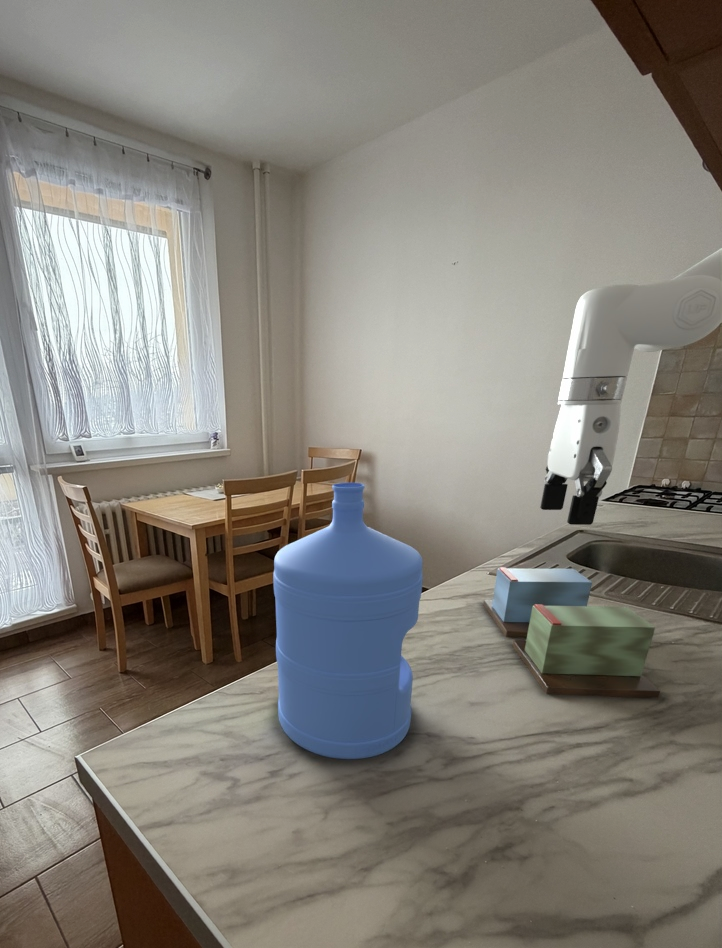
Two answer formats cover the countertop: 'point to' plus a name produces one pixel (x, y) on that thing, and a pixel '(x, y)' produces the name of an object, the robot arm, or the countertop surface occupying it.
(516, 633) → the dark brown base plate
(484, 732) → the countertop surface
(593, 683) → the brown wooden board
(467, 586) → the countertop surface
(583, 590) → the far tissue box
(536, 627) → the near tissue box
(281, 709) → the water jug
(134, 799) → the countertop surface
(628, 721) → the countertop surface
